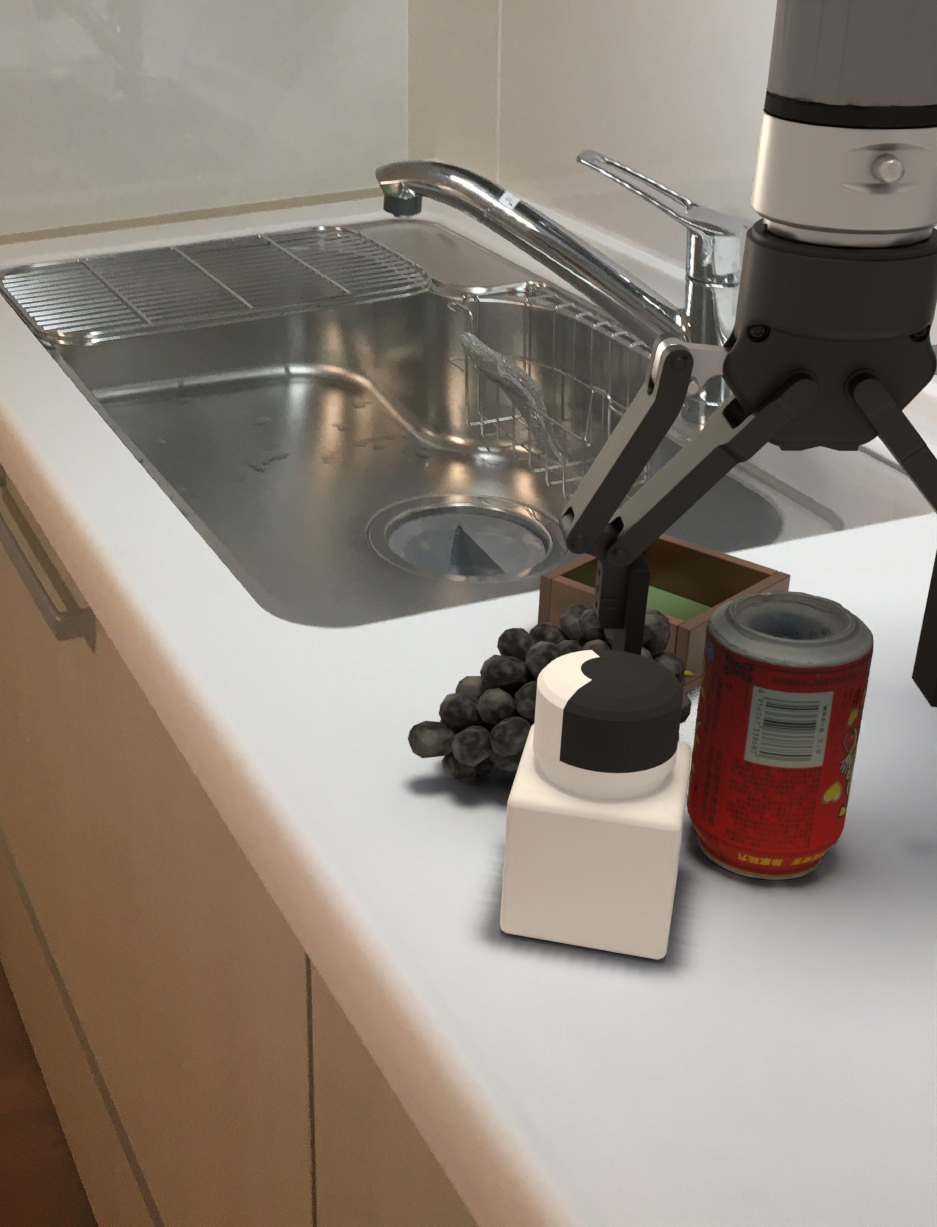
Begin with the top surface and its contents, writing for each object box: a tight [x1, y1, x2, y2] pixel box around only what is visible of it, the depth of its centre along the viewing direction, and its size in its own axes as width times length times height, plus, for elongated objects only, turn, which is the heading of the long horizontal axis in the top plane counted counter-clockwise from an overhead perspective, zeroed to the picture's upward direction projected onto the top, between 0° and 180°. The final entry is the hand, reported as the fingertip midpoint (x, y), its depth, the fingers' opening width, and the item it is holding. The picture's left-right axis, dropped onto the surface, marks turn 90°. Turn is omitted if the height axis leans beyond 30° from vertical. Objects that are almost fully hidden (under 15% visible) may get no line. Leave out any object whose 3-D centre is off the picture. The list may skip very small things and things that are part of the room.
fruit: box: [407, 604, 696, 784], centre depth 86 cm, size 9×8×15 cm
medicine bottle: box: [499, 649, 693, 961], centre depth 74 cm, size 7×7×12 cm
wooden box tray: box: [537, 533, 791, 694], centre depth 98 cm, size 10×10×4 cm
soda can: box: [686, 590, 875, 881], centre depth 77 cm, size 7×7×12 cm
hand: (774, 691), depth 76 cm, fingers open, 13 cm apart
